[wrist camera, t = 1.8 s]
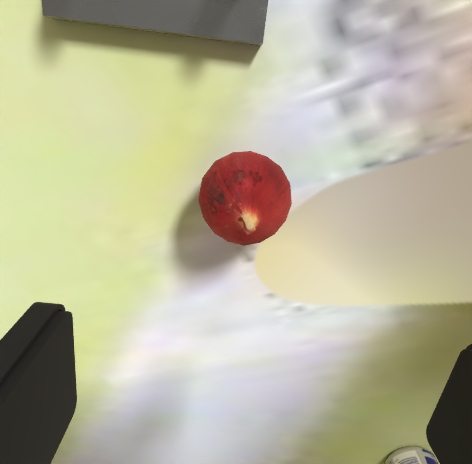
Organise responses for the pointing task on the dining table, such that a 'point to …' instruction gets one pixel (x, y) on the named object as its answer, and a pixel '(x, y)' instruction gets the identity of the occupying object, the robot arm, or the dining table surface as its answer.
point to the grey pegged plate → (171, 16)
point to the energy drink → (411, 456)
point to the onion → (245, 197)
